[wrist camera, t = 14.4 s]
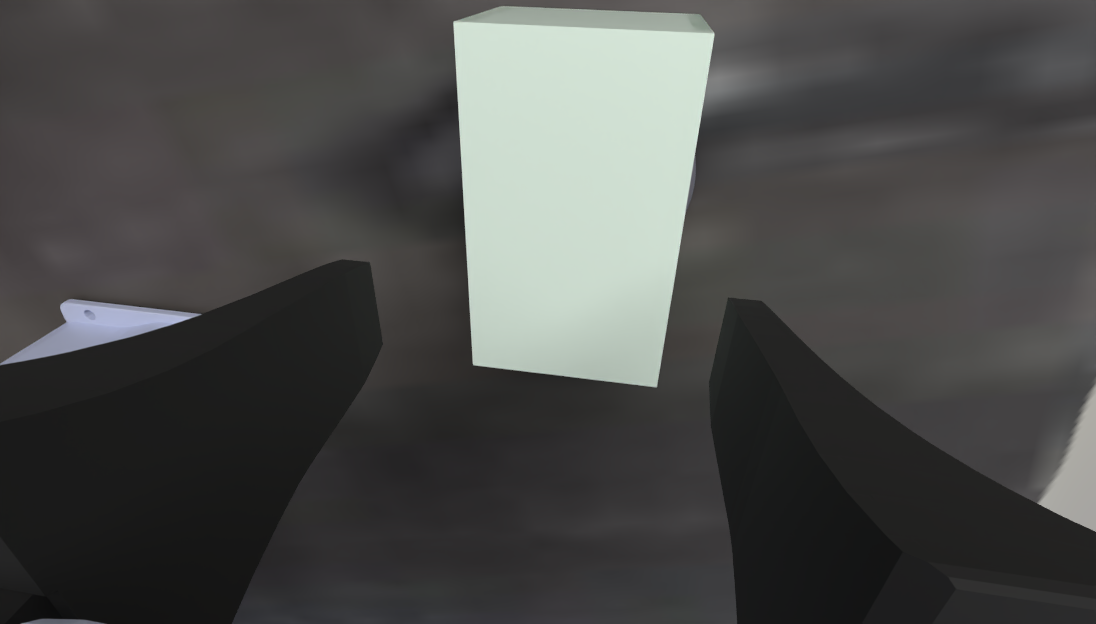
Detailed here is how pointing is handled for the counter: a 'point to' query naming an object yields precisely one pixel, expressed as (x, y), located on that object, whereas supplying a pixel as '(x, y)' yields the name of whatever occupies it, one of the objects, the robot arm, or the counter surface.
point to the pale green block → (576, 183)
